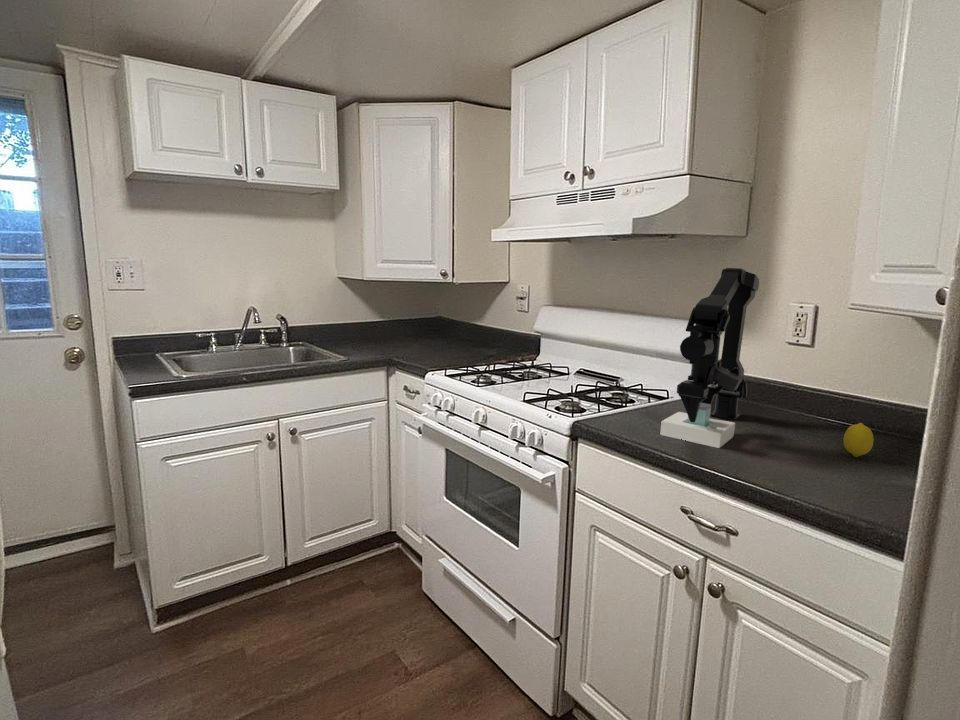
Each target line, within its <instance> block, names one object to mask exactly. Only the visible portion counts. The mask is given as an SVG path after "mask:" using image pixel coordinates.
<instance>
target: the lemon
mask: <svg viewBox="0 0 960 720" xmlns="http://www.w3.org/2000/svg"><path fill="white" fill-rule="evenodd" d="M873 445H874V434H873V431H872V430H871V429H870V428H869V426H866V425H864V423H862V422H858V423H856V424H852V425H850V426H849V427H848V428H846V431H845V432H844V435H843V446H844V448H845V449H846V451H847V452H849V454H852V456H853V457H854V458H858V457H860V456H864V455H866V454H868V453H869V452H870V451H871V450H872V448H873Z"/></svg>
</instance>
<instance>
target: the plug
mask: <svg viewBox="0 0 960 720" xmlns="http://www.w3.org/2000/svg"><path fill="white" fill-rule="evenodd" d="M711 410H712V404H706V403H700V407H699V410H698V414H697V418H696V421H695V422H690V420H689V417H688V423H689V424H694V425H699V426H704V427H708V426H709V421H710V418H711V415H710V414H711V413H712V412H711Z"/></svg>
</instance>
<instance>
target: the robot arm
mask: <svg viewBox="0 0 960 720" xmlns="http://www.w3.org/2000/svg"><path fill="white" fill-rule="evenodd" d="M720 275H721V276H720V278H719V279H718V281H717V283H716V284H715V286H714V287H713V289H712V291H711V293H710V294H709V296H707V297H704V298H702V299H699V301H698V302H697V303H696V304H695V307H693V308H692V310H691V313H690V316H689V318H688V321H687V326H686V328H685V332H687V333H689V336H687V337H685V338H684V339H683V340H682V341H681V343H680V345H679V350H680V354H681V356H682V357H683V358H684V359H686V360H687V361H689V364H691V372H690V374H689V375H687V379H685V380H682V381H681V382H680V383H679V384H677V386H676V394H677V395H678V397H680V399H681V401H682V404H683V407H684V409H685V411H686V412H685V413H687V414H688V417H689V420H690V422H695V421H696V418H697V414H698V410H699V407H700V403H706V404H711V405H712V403H713V401H714V398H715V406H714V410H713V412H710V417H715V418H721V419H727V420H732V421H735V420H737V419H738V418H740V416H741V414H740V413H738V405H739V399H746V398H747V397H748V395H747V394H748V384H747V381H746V377H745V368H744V367H743V364H742V362H741V360H740V359H741V358H740V357H741V351H742V345H743V336H744V328H745V322H746V314H747V308H748V306H749V305H750V304H751V302H752V301H753V300H754V299H755V297H756V292H758V290H759V286H760V278H759V277H758V276H757V274H756V273H755V274H754V273H752V272H749V271H746V269H743V268H740V267H737V268H736V267H726V268H723V269H722V270H721V274H720ZM723 332H724V336H723V343H722V351H721V357H720V359H719V354H720V346H721V335H723Z"/></svg>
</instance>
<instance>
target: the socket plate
mask: <svg viewBox="0 0 960 720" xmlns="http://www.w3.org/2000/svg"><path fill="white" fill-rule="evenodd" d="M735 427H736V422H734V421H727V420H722V419H717V418H713V417H710V421H709V426H708V427H704V426H699V425H694V424H689V423H688V414H687V412H683V411H677V412H675V413H674V414H672V415H670V416H668V417H666V418H665V419H663V420H662V421H661V422H660V433H659V434H660V436H664V437H669V438H672V439H678V440H681V439H682V441H685V440H686V441H687V442H690V443H694V444H698V445H699V444H700V445H704V446H708V447H712V448H717V449H720V448H722V447H723V446H725V444H726V443H728V442H729V441H730V440H731V439H733V437H734V436H735Z"/></svg>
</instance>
